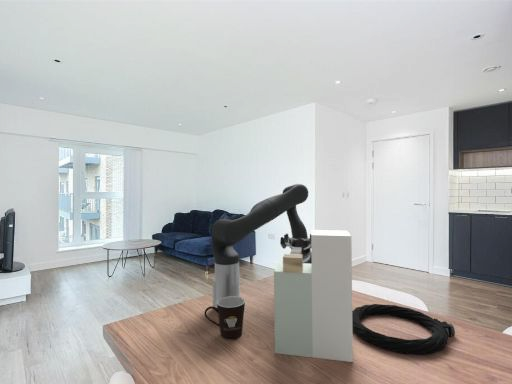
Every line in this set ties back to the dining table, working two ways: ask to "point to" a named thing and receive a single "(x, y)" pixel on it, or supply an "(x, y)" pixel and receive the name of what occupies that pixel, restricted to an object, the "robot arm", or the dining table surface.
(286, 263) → the block
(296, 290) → the riser
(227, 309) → the coffee mug
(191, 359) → the dining table surface
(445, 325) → the cable lock
